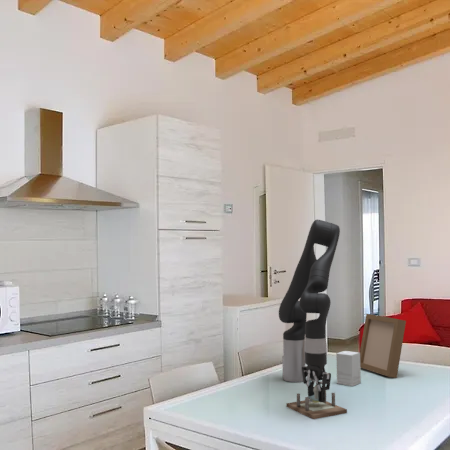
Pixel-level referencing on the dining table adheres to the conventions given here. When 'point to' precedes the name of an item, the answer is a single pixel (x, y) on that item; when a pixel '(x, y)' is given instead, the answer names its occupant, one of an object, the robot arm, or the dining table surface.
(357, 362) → the supplement box
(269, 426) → the dining table surface
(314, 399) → the pacifier
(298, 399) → the pin tray
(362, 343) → the photo frame
